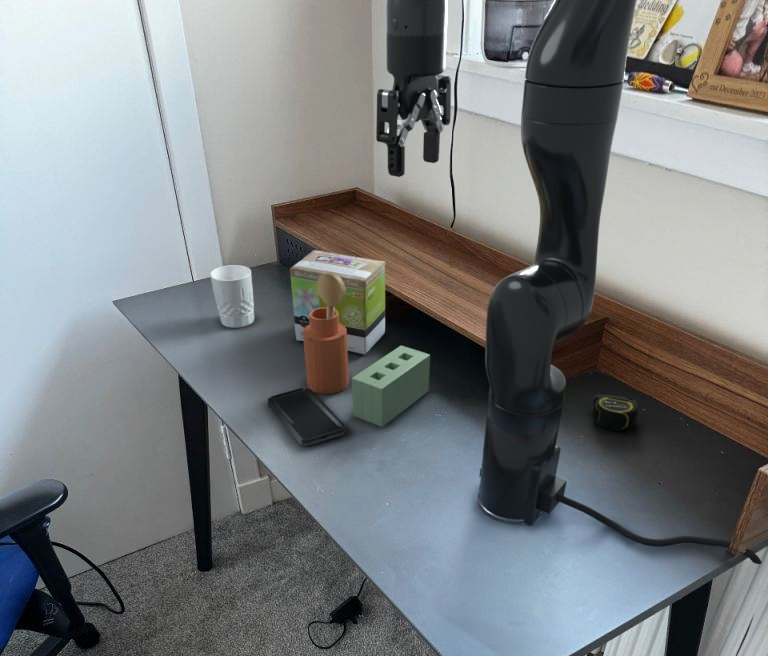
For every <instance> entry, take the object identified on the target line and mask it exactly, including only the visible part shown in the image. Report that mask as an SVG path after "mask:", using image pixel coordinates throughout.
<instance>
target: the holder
mask: <svg viewBox="0 0 768 656" xmlns="http://www.w3.org/2000/svg"><path fill="white" fill-rule="evenodd" d="M430 366H431V354H430V353H429V354H428V353H426V352H423V351H420V350H416V349H414V348H410V347H407V346H404V345H399V346H398V347H396V348H395V349H393V350H392V351H390V352H389V353H387V354H386V355H384V356H383V357H381V358H380V359H378V360H377V361H375V362H373V363H372V364H371V365H369V366H367V368H365V369H363V370H362V371H360V372H359V373H357V374H356V375H354V376H353V377H351V392H352V393H351V394H352V415H353V417H356V418H358V419H361V420H363V421H365V422H368V423H371V424H373V425H375V426H378V427H381V428H383V427H384V426H386V425H387V424H388V423H390V422H391V421H392V420H394V419H395V418H396V417H398V416H399V415H400V414H401V413H403V412H404V411H405V410H407V409H408V408H409V407H410V406H411V405H413V404H414V403H416V402H417V401H418V400H419V399H421V398H422V397H423V396H425V395H426V394H428V393H429V391H430V369H431V368H430Z"/></svg>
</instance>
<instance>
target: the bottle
mask: <svg viewBox="0 0 768 656" xmlns="http://www.w3.org/2000/svg"><path fill="white" fill-rule="evenodd" d="M326 317H327V307H323V308H317V309H314V310H312V311H310V313H309V323H310V325H308V326H306V327H305V328H304V329H303V339H304V341H303V351H304V360H305V362H304V363H305V371H306V372H305V373H306V374H305V375H306V383H307V388H310V389H311V390H312V391H313V392H314V393H317V394H322V395H332V394H337V393H341V392H342V391H344V390H346V389H347V388H348V386H349V383H350V381H349V379H350V378H349V355H348V354H349V353H348V352H349V351H347V330H346V328H345V326H344V325H342V324H340V323H339V314H338V311H337V310H335V309H334V316H333V317H332V318H328V319H326Z"/></svg>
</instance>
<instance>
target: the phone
mask: <svg viewBox="0 0 768 656" xmlns="http://www.w3.org/2000/svg"><path fill="white" fill-rule="evenodd" d="M267 406H268V408H269V409H270V410H271V412H272V413H273V414H274V415H275V416H276V418H277V419H278V420H279V421H280V423H282V425H283V426H284V427H285V428H286V429H287V431H288V432H289V433H290V434H291V435H292V436H293V437H294V439H295V440H296V442H297V443H298V444H299V445H300V446H303V447H310V446H313V445H317V444H320V443H324V442H326V441H329V440H332V439H335V438H340V437H342V436H344V435H345V434H346V425H345V423H344V422H343V421H342V420H341V419H340V418H339V417H338V416H337V415H336V414H335V413H334V412H333V411H332V410H331V408H329V407H328V405H326V404H325V402H323V400H321V399H320V397H319V396H318V395H316V392H314V391H312V390H311V389H310V388H309V387H305V386H304V387H299V388H296V389H292V390H289V391H286V392H281V393H278V394H275V395H271V396H269V397H268V398H267Z"/></svg>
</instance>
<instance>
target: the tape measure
mask: <svg viewBox="0 0 768 656" xmlns="http://www.w3.org/2000/svg"><path fill="white" fill-rule="evenodd" d="M592 412H593V413H592V417H593V420H594V421H595V423H596V424H597V425H599V426H601V427H603V428H605V429H609V430H614V431H615V430H617V431H618V430H619V431H620V430H621V431H622V430H623V431H624V430H627V429H630V428H632V427H633V426H634V425H635V423H636V421H637V419H638V414H639V406H638V402H637V400H636V399H635V398H633V397H628V396H621V395H620V396H619V395H608V394H600V393H599V394H597V393H596V394H595V395H594V396H593V399H592Z"/></svg>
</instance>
